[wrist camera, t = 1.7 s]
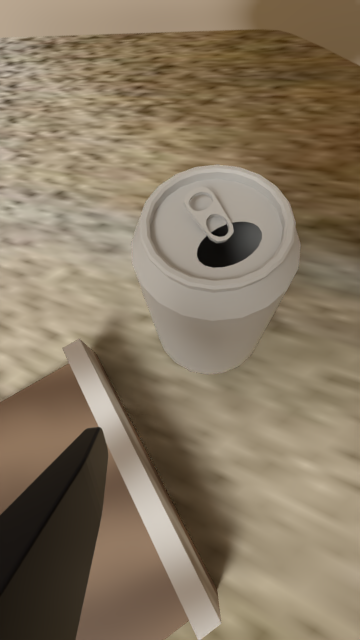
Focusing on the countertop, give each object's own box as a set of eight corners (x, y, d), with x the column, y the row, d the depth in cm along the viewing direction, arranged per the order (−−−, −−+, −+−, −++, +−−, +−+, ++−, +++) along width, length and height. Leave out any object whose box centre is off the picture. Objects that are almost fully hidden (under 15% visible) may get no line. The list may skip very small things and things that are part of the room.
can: (193, 397, 21) (187, 341, 10) (141, 315, 24) (90, 199, 13) (279, 341, 22) (358, 235, 11) (220, 268, 25) (236, 126, 14)
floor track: (217, 590, 17) (221, 623, 14) (5, 750, 15) (-48, 834, 12) (96, 354, 23) (79, 338, 19) (-68, 448, 21) (-117, 447, 17)
